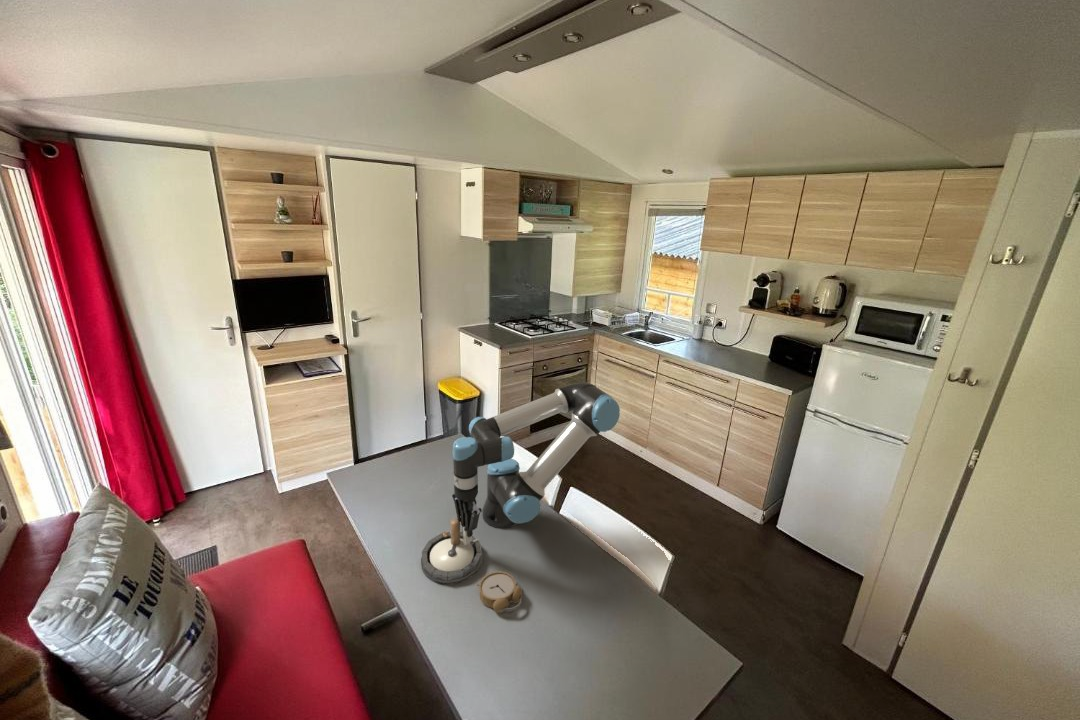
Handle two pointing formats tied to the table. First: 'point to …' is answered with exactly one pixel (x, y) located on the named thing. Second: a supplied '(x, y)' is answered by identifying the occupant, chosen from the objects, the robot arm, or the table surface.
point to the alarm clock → (499, 591)
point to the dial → (452, 551)
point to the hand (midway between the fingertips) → (467, 541)
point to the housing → (450, 576)
